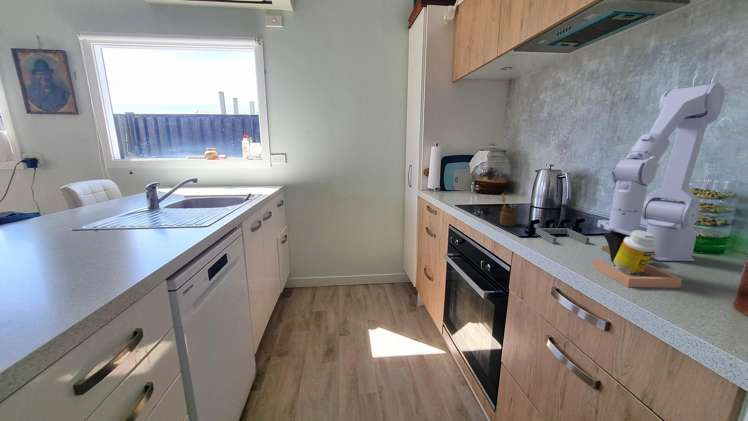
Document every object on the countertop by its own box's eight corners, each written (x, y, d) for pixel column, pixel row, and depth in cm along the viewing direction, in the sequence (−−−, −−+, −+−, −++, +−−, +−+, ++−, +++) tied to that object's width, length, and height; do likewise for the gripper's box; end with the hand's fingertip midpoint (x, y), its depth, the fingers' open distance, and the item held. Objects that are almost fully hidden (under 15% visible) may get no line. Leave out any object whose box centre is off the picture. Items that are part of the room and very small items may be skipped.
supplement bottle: (633, 281, 67) (653, 244, 62) (606, 267, 71) (623, 232, 66) (645, 272, 69) (665, 236, 64) (618, 260, 73) (635, 225, 68)
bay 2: (637, 267, 73) (638, 259, 73) (680, 287, 63) (682, 279, 62) (592, 266, 74) (593, 259, 73) (627, 287, 63) (629, 278, 63)
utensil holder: (510, 227, 111) (513, 196, 108) (495, 223, 116) (498, 194, 114) (519, 224, 114) (522, 194, 112) (504, 221, 119) (506, 192, 117)
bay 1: (552, 243, 91) (553, 237, 91) (535, 233, 102) (535, 228, 102) (588, 244, 91) (589, 238, 91) (567, 233, 102) (568, 228, 101)
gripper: (588, 203, 77) (581, 252, 80) (634, 216, 63) (623, 274, 66) (616, 203, 77) (608, 252, 80) (668, 216, 63) (655, 274, 66)
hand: (617, 262), depth 73 cm, fingers closed
